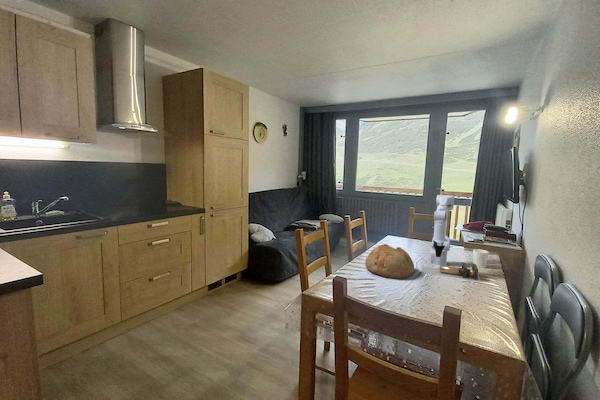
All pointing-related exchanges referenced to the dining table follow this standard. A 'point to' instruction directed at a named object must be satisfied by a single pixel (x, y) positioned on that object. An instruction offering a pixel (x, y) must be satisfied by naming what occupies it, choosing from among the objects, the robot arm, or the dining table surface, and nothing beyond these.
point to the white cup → (480, 258)
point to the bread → (390, 262)
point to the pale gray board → (437, 272)
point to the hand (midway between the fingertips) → (437, 254)
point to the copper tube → (456, 271)
